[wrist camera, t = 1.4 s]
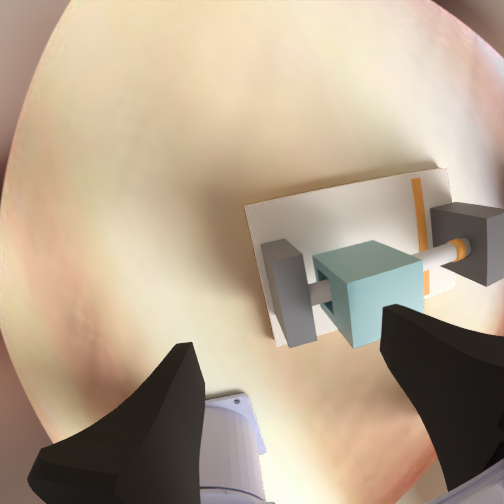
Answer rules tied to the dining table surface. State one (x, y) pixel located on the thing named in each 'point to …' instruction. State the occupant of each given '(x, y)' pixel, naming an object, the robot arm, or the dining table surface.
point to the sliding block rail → (365, 229)
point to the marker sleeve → (368, 287)
